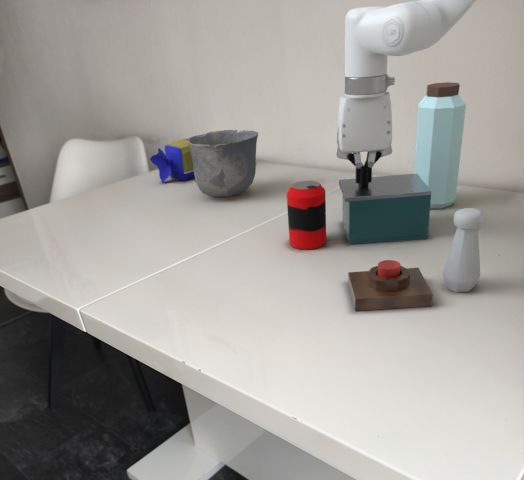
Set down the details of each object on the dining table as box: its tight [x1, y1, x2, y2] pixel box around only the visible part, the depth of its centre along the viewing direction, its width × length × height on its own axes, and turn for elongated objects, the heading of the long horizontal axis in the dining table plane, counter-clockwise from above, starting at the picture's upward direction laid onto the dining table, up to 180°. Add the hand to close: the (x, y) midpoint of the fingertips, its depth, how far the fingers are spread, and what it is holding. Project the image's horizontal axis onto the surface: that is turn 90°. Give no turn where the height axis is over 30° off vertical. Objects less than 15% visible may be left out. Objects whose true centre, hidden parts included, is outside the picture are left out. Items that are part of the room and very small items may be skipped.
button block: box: [347, 265, 434, 312], centre depth 88 cm, size 12×10×4 cm
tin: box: [342, 195, 431, 245], centre depth 111 cm, size 16×13×9 cm
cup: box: [188, 129, 259, 198], centre depth 140 cm, size 18×18×15 cm
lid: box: [338, 173, 431, 202], centre depth 109 cm, size 16×13×1 cm
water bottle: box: [413, 81, 467, 210], centre depth 118 cm, size 10×10×25 cm
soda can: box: [286, 180, 327, 251], centre depth 108 cm, size 8×8×12 cm
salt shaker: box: [442, 207, 484, 293], centre depth 86 cm, size 6×6×13 cm
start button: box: [377, 259, 402, 278], centre depth 87 cm, size 4×4×2 cm
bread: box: [149, 133, 205, 183], centre depth 163 cm, size 10×25×10 cm, turn 130°
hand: (363, 186), depth 109 cm, fingers closed
